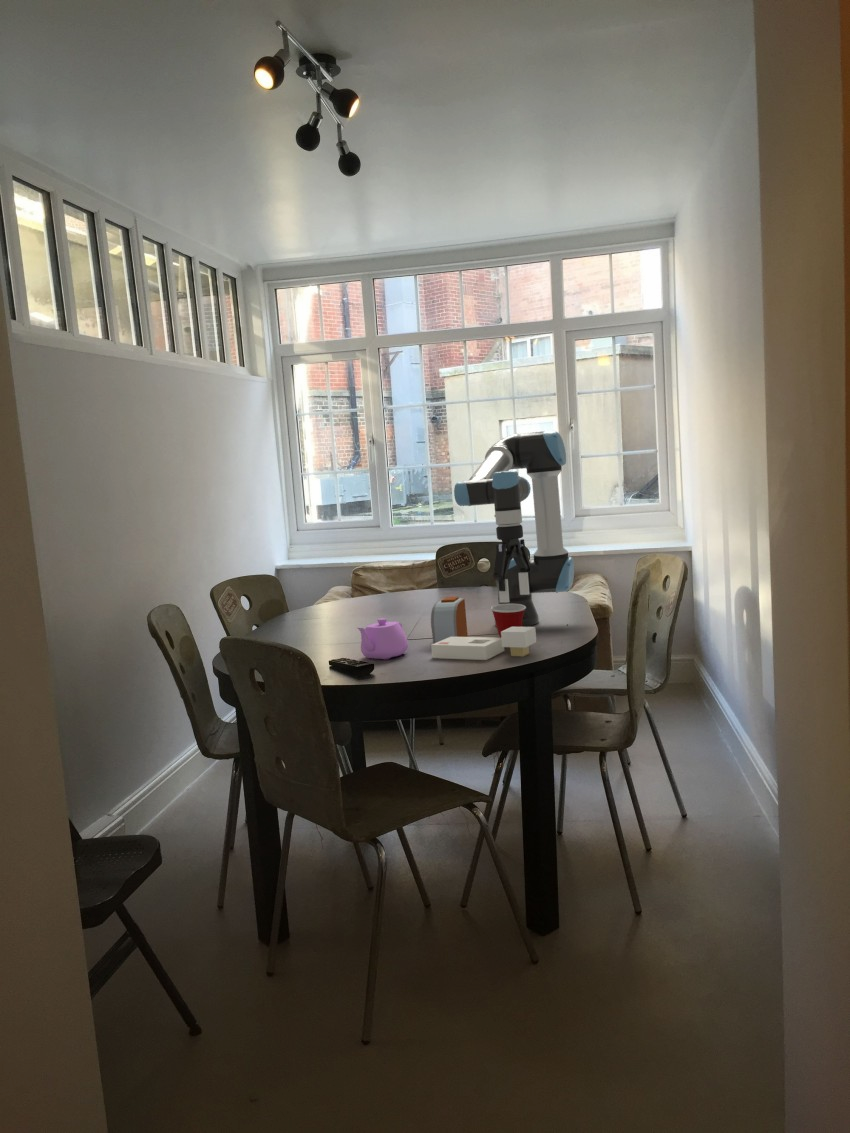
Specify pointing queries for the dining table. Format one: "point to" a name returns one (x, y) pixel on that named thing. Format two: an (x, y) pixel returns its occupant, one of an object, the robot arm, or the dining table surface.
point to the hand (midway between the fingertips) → (514, 598)
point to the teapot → (383, 640)
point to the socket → (467, 648)
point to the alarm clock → (448, 619)
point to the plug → (518, 639)
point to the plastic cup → (508, 616)
